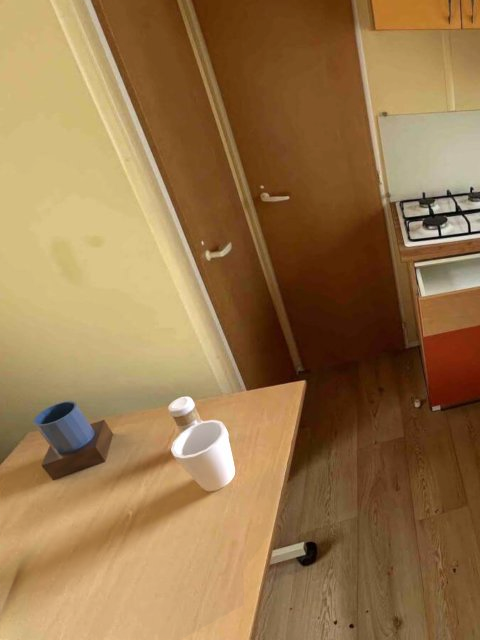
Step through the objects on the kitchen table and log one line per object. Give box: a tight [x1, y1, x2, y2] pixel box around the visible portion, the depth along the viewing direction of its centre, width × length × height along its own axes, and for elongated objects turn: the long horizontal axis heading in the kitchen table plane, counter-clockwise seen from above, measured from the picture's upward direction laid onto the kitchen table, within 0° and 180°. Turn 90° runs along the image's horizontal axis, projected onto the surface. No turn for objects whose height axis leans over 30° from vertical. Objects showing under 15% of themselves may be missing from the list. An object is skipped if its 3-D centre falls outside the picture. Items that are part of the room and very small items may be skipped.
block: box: [40, 419, 114, 481], centre depth 97 cm, size 9×9×5 cm
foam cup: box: [170, 419, 236, 493], centre depth 91 cm, size 10×9×13 cm
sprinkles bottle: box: [167, 396, 204, 434], centre depth 99 cm, size 5×5×14 cm
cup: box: [32, 400, 95, 454], centre depth 94 cm, size 7×7×9 cm
